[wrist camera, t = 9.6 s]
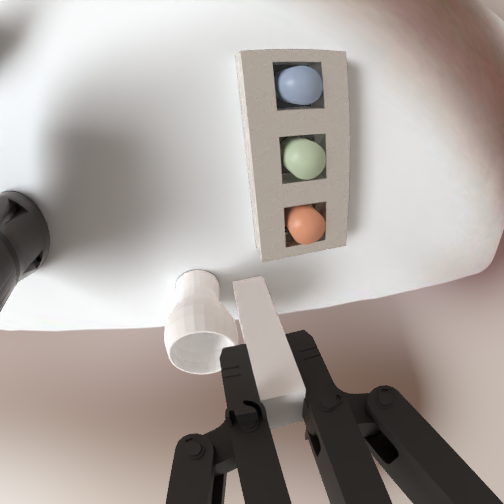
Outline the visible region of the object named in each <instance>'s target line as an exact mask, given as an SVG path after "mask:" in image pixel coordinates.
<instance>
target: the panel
mask: <svg viewBox="0 0 504 504" xmlns="http://www.w3.org/2000/svg"><path fill="white" fill-rule="evenodd" d="M235 57H236V66H237V75H238V84H239V93H240V102H241V111H242V120H243V129H244V138H245V147H246V156H247V166H248V175H249V184H250V193H251V203H252V212H253V222H254V231H255V241H256V248H257V250H258V253H259V255H260V258H261V260H262V262H264V261H270V260H275V259H280V258H285V257H290V256H295V255H301V254H306V253H311V252H316V251H321V250H326V249H331V248H336V247H341V246H346V237H347V223H348V205H349V178H350V116H349V91H348V74H347V61H346V52H343V51H330V50H311V49H266V50H247V51H240V52H239V53H238V54H237V55H236V56H235ZM288 64H309V67H310V68H312V69H314V70H315V71H316V72H317V73H318V74H319V75H320V77H321V79H322V83H323V90H322V93H321V96H320V97H319V98H318V99H317V100H316V101H315V102H314V103H312V106H309V107H288V108H277V105H276V94H275V83H274V73H273V65H288ZM311 134H313V141H314V142H315V143H317V144H318V145H320V146H321V147H322V149H323V150H324V152H325V155H326V163H325V167H324V169H323V171H322V172H321V173H320V174H319V175H318V176H317V177H315V178H313V179H309V180H304V179H300V178H298V177H296V176H295V175H294V174H292V173H286V174H282V171H281V156H280V142H279V137H286V136H297V135H311ZM312 203H315V209H316V210H317V212H318V213H319V214H320V215H321V216H322V217H323V218H324V220H325V224H326V227H325V231H324V234H323V235H322V237H321V238H320V239H319V240H318V241H316V242H314V243H312V244H308V245H304V244H300V243H298V242H297V241H295V239H294V238H293V236H292V235H291V233H290V232H285V222H284V208H286V207H292V206H299V205H305V204H312Z"/></svg>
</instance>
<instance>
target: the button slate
mask: <svg viewBox="0 0 504 504" xmlns="http://www.w3.org/2000/svg"><path fill="white" fill-rule="evenodd" d="M274 83H275V94H276V96H277V98H278V99H280V100H281V101H283V102H286V103H292V104H299V105H308V104H312V103H314V102H315V101H316V100H317V99H318V98H319V97H320V96H321V93H322V90H323V83H322V79H321V77H320V75H319V74H318V73H317V72H316V71H315V70H314V69H312V68H310V67H308V66H295V67H291V68H286V69H283V70H281V71H279V72H278V73H277V74H276V75H275V77H274Z"/></svg>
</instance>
